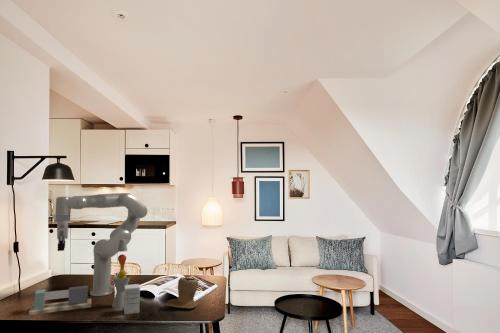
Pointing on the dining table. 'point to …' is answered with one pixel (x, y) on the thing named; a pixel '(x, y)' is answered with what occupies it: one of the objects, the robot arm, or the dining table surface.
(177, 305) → the brown boot
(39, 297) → the socket block
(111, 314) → the dining table surface
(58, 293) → the tube
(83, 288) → the sleeve
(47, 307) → the base board
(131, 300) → the supplement box
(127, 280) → the lava lamp
